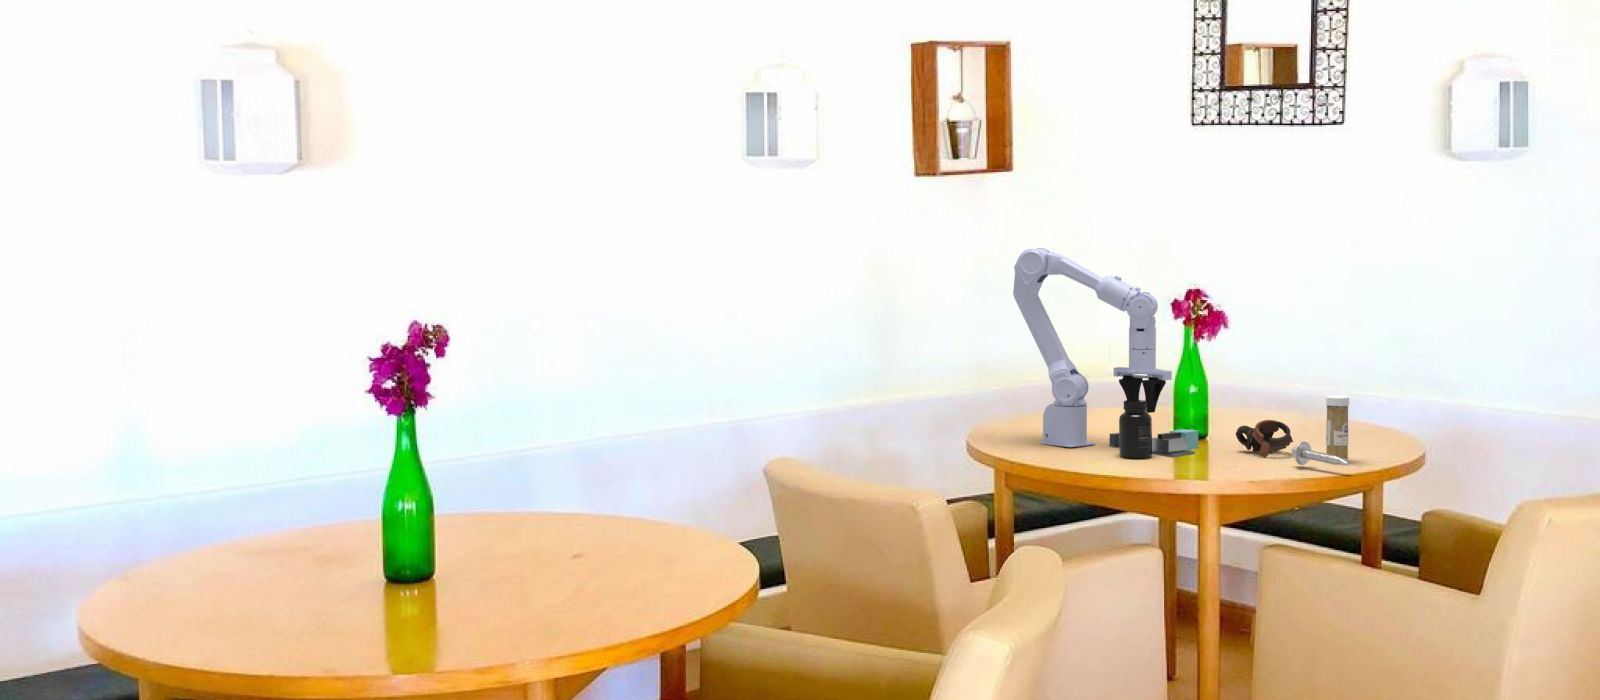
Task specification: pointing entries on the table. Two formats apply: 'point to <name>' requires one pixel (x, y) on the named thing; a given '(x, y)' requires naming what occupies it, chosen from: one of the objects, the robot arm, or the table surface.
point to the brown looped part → (1264, 437)
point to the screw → (1314, 455)
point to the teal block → (1189, 437)
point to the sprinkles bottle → (1337, 425)
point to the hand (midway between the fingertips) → (1142, 411)
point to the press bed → (1115, 443)
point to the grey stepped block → (1169, 442)
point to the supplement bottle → (1135, 431)
